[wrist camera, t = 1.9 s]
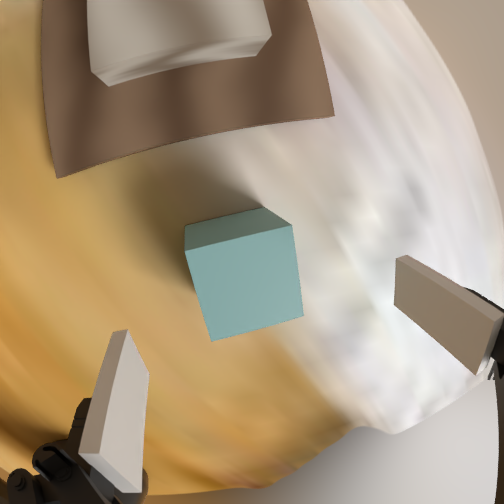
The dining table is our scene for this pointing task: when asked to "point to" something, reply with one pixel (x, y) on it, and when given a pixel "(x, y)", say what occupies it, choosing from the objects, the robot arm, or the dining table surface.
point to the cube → (244, 271)
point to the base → (173, 73)
